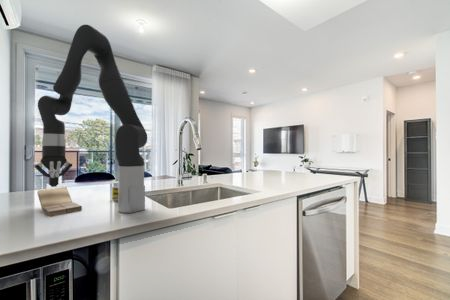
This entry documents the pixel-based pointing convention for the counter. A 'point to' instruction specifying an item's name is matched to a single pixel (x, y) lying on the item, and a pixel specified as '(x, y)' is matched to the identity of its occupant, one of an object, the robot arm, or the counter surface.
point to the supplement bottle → (115, 191)
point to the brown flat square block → (61, 208)
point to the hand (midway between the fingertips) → (53, 186)
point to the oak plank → (53, 196)
